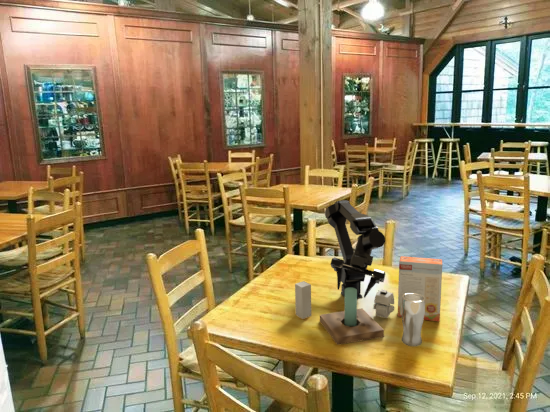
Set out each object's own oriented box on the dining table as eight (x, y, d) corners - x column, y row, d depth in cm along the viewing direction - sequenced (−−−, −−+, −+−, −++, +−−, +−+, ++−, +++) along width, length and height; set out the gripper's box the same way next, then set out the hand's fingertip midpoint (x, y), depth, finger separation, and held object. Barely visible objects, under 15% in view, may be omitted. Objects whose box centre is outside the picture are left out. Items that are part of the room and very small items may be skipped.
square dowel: (304, 311, 159) (303, 281, 157) (311, 315, 156) (310, 284, 153) (295, 314, 157) (295, 283, 154) (302, 319, 154) (301, 287, 151)
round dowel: (353, 325, 149) (353, 286, 145) (358, 330, 145) (359, 291, 142) (342, 326, 148) (342, 288, 145) (347, 332, 144) (347, 293, 141)
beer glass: (396, 336, 141) (398, 293, 137) (417, 334, 141) (419, 291, 138) (405, 348, 134) (406, 302, 130) (427, 346, 134) (429, 301, 131)
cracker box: (439, 314, 154) (442, 258, 149) (439, 322, 148) (443, 264, 144) (398, 309, 159) (400, 255, 154) (397, 317, 153) (399, 260, 149)
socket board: (362, 314, 156) (362, 308, 155) (383, 336, 140) (383, 329, 140) (319, 321, 152) (319, 314, 151) (337, 344, 137) (337, 337, 136)
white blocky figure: (394, 315, 155) (395, 288, 152) (388, 323, 149) (389, 295, 147) (378, 311, 158) (378, 285, 156) (371, 319, 152) (372, 292, 150)
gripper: (335, 237, 149) (322, 280, 145) (390, 252, 144) (378, 297, 139) (338, 246, 160) (325, 287, 155) (389, 260, 154) (378, 303, 150)
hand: (351, 293), depth 150 cm, fingers open, 9 cm apart
